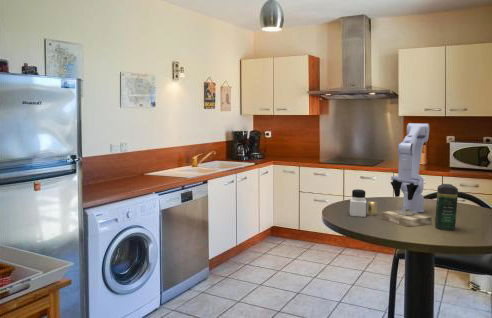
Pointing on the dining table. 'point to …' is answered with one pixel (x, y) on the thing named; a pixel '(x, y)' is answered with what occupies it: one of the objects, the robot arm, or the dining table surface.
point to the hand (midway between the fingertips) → (403, 198)
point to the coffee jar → (446, 207)
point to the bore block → (406, 218)
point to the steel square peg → (405, 211)
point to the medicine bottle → (358, 203)
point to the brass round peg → (372, 208)
